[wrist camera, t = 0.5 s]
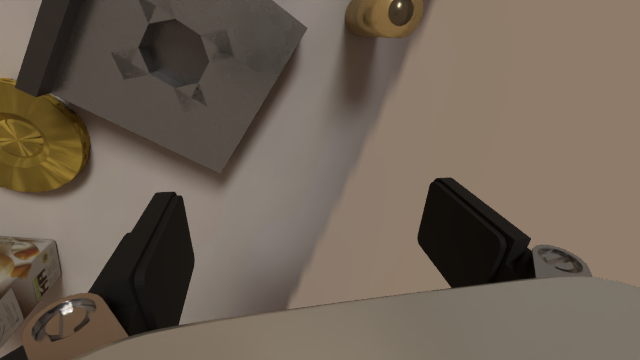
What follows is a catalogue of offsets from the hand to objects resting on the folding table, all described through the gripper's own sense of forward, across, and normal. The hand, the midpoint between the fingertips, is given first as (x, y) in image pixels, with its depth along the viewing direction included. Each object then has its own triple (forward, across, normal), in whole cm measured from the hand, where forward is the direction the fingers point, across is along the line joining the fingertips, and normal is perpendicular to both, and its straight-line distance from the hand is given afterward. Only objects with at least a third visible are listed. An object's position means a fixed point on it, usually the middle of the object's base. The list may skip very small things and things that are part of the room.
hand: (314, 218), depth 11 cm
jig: (+27, +9, -4) cm, 29 cm away
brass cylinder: (+27, -10, -8) cm, 30 cm away
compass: (+28, +27, +5) cm, 39 cm away
